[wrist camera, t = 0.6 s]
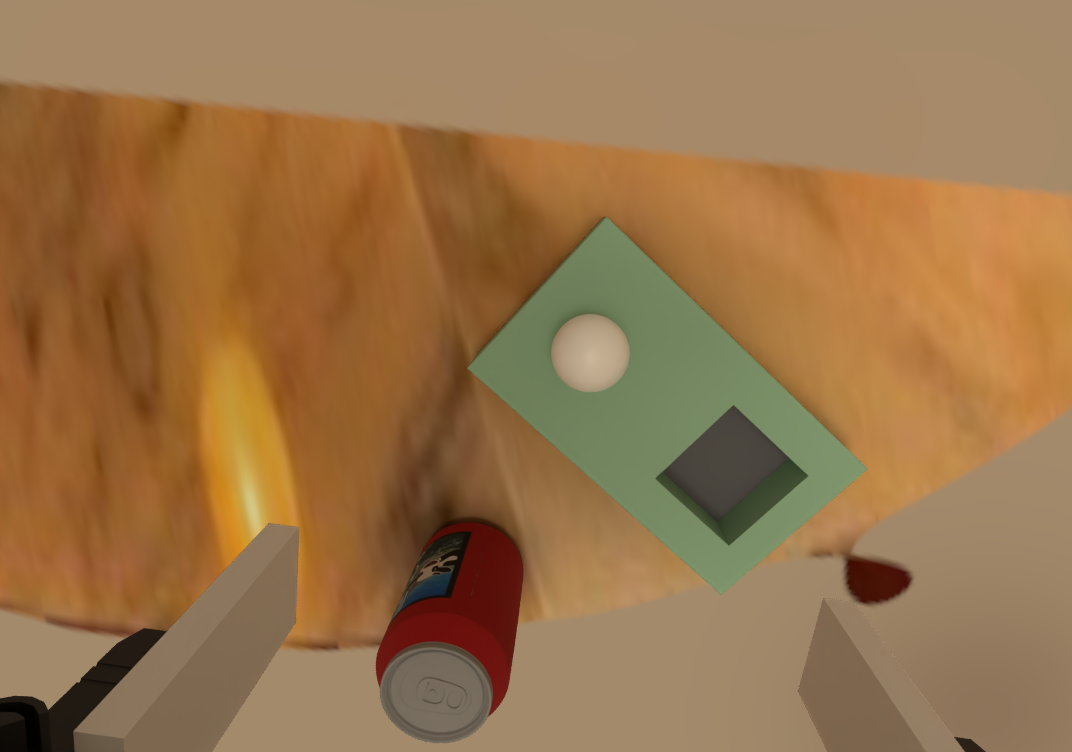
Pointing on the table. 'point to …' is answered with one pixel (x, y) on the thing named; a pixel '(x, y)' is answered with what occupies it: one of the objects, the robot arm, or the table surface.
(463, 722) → the beverage can
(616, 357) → the ball
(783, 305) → the table surface
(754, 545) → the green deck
